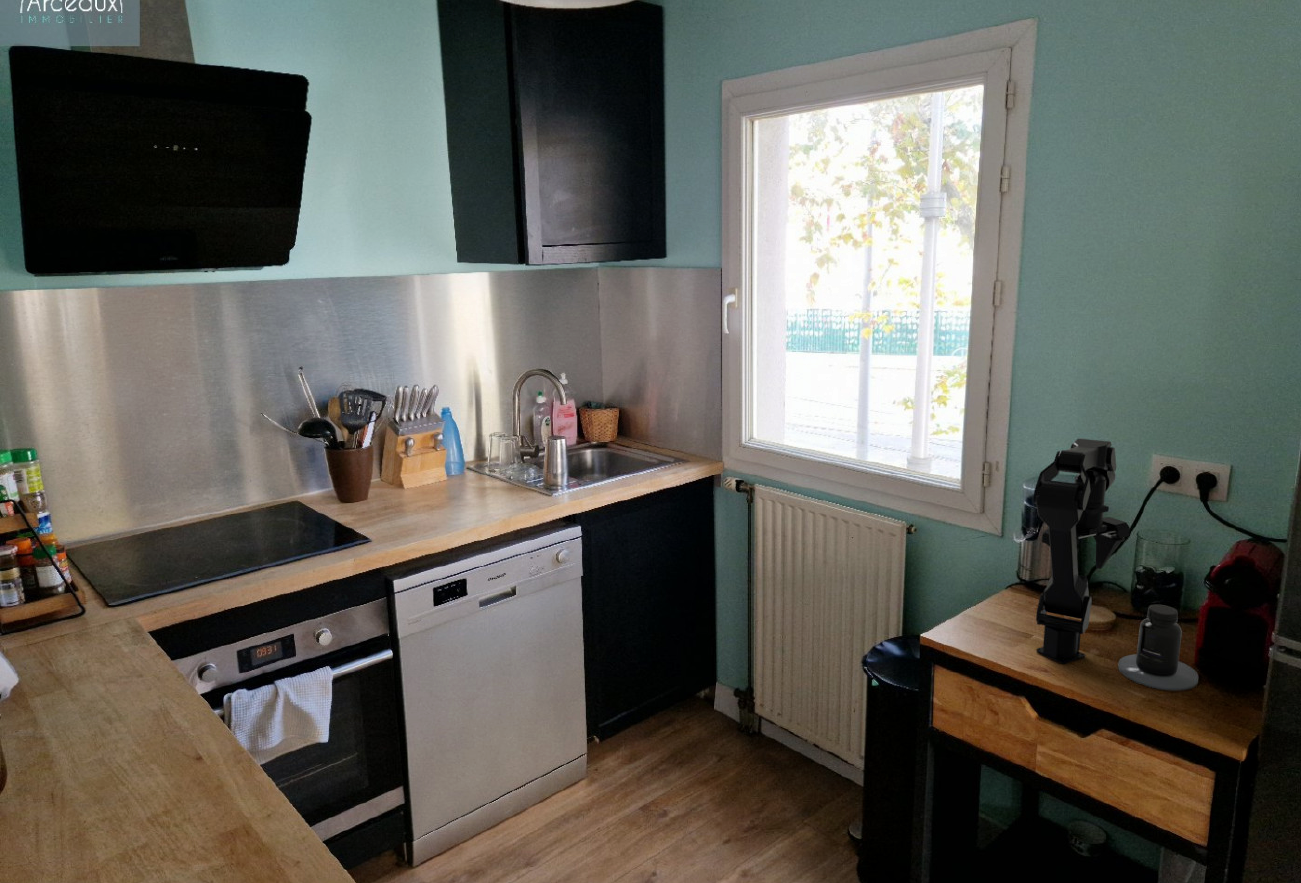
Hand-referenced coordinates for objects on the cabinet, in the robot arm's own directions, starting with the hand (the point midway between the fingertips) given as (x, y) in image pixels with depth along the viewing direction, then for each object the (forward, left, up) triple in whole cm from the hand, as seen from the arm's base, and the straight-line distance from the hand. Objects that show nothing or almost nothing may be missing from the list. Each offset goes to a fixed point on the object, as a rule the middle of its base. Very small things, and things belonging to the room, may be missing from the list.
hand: (1082, 572), depth 185 cm
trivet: (-5, -21, -12) cm, 25 cm away
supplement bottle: (-5, -21, -12) cm, 25 cm away
